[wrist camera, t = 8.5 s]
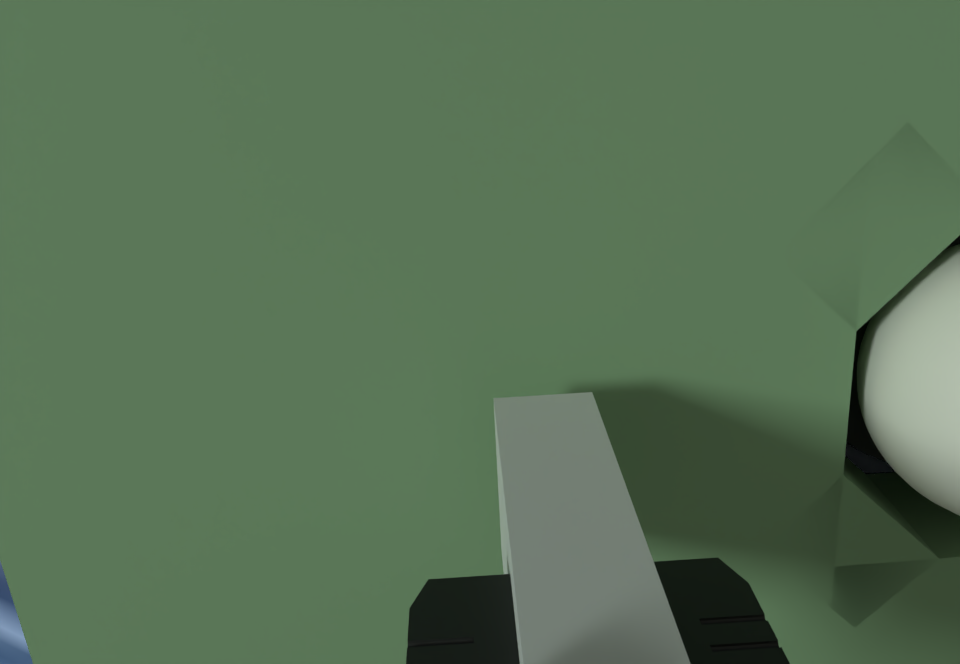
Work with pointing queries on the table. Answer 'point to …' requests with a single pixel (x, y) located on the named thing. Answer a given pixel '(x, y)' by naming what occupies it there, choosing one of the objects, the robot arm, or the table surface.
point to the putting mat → (455, 305)
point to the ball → (917, 381)
